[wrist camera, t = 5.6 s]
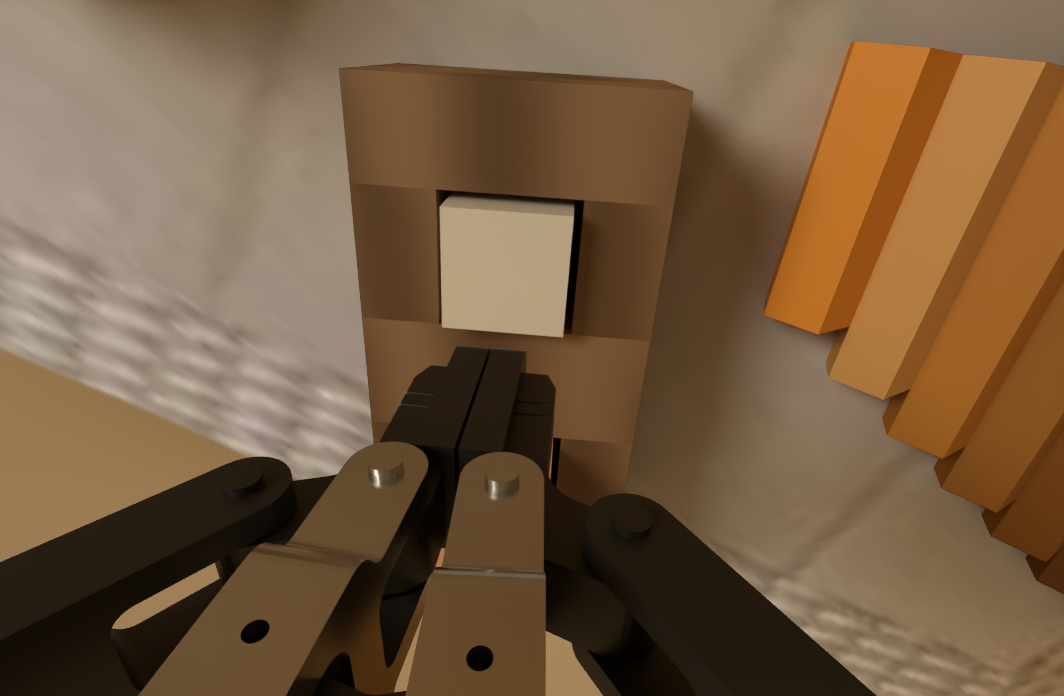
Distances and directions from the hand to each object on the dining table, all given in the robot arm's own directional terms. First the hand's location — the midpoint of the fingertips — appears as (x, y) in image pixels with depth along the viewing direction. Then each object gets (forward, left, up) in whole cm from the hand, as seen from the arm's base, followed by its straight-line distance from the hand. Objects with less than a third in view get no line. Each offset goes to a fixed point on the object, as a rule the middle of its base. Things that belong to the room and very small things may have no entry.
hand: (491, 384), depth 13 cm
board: (0, +4, -13) cm, 14 cm away
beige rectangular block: (0, 0, -12) cm, 12 cm away
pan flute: (-22, +6, -14) cm, 27 cm away
